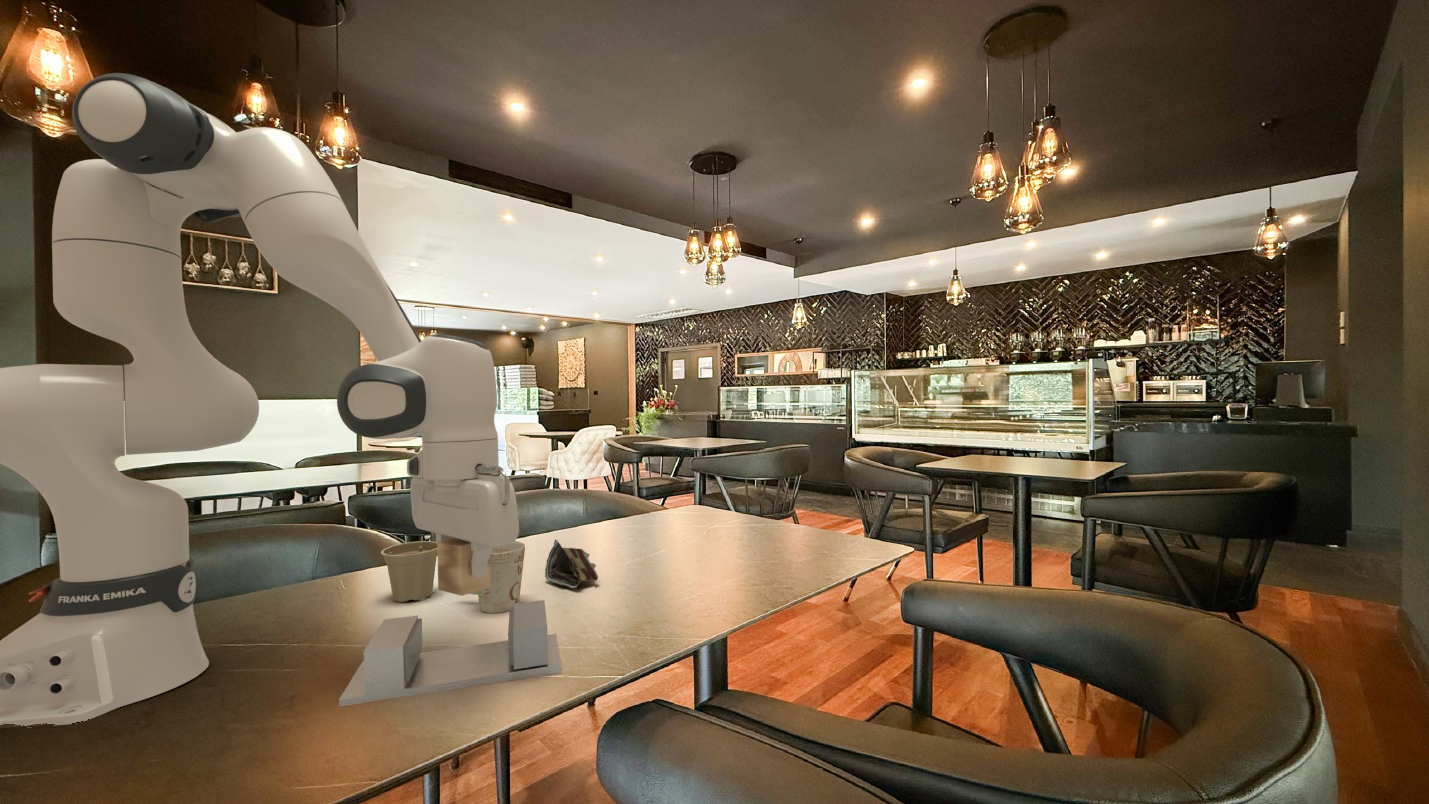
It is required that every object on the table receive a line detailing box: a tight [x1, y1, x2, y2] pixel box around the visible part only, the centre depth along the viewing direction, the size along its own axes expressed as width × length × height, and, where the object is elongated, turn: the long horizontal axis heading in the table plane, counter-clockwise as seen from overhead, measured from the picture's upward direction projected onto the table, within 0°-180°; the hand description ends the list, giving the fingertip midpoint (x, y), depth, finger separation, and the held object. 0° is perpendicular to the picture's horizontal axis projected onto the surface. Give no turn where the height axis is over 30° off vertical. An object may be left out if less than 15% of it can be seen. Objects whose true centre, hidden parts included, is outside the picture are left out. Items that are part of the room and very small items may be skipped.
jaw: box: [507, 599, 548, 669], centre depth 75 cm, size 5×10×5 cm, turn 18°
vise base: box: [338, 615, 562, 707], centre depth 73 cm, size 24×10×6 cm, turn 108°
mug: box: [468, 540, 526, 614], centre depth 96 cm, size 8×13×10 cm, turn 78°
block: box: [437, 538, 491, 597], centre depth 73 cm, size 5×4×6 cm
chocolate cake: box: [544, 538, 599, 589], centre depth 109 cm, size 10×7×12 cm
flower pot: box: [380, 540, 438, 603], centre depth 101 cm, size 9×9×9 cm
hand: (464, 571), depth 73 cm, fingers closed on block, 5 cm apart
